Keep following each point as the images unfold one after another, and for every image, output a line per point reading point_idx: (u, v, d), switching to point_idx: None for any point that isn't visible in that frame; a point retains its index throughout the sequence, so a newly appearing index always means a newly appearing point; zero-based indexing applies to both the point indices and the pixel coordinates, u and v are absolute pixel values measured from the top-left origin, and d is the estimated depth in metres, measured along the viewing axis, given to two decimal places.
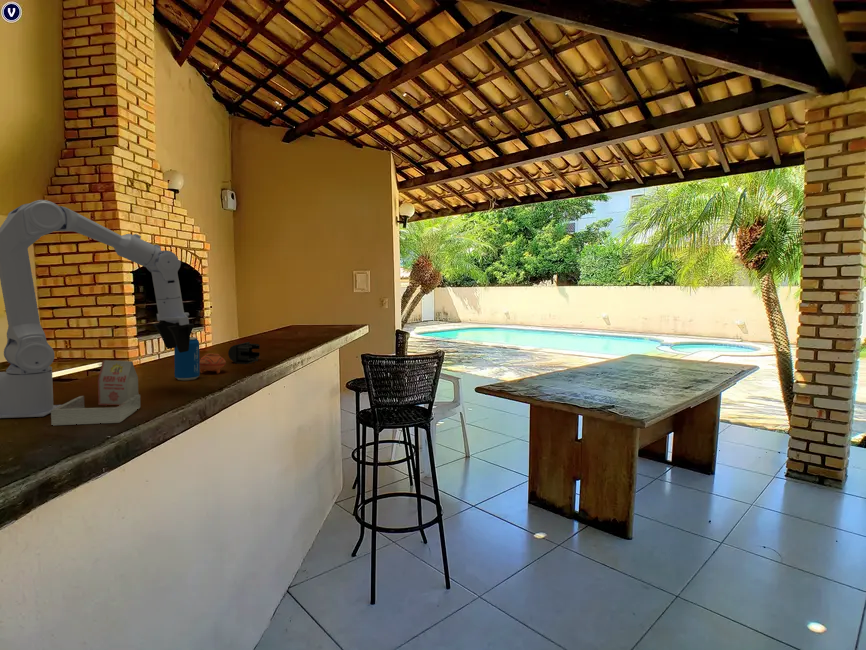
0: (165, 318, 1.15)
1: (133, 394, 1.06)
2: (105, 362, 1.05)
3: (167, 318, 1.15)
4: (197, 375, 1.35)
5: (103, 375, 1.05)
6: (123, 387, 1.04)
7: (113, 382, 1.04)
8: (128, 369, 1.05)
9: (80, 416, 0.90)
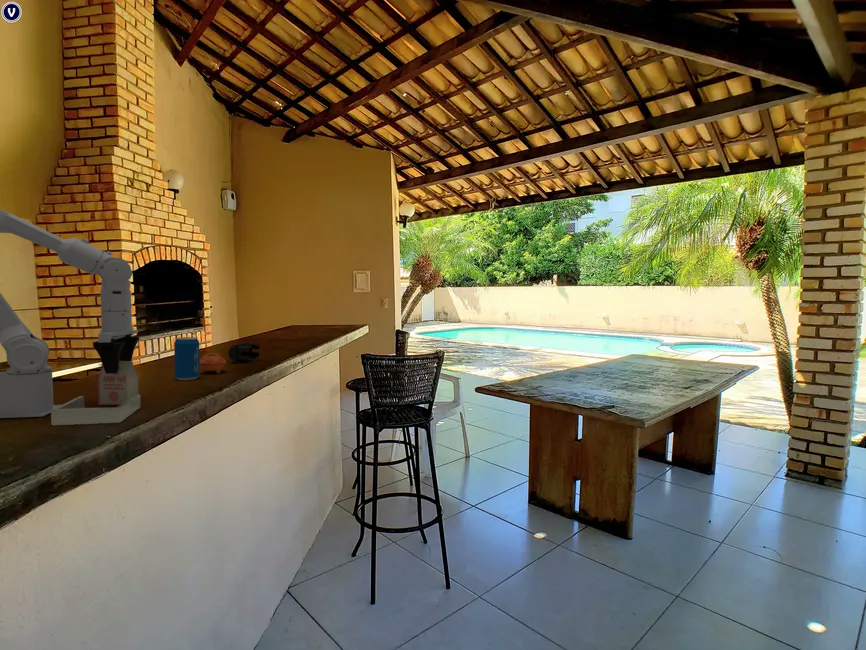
0: (100, 332, 1.02)
1: (133, 394, 1.06)
2: None
3: (100, 332, 1.02)
4: (197, 375, 1.35)
5: (103, 375, 1.05)
6: (123, 387, 1.04)
7: (113, 382, 1.04)
8: (128, 369, 1.05)
9: (80, 416, 0.90)
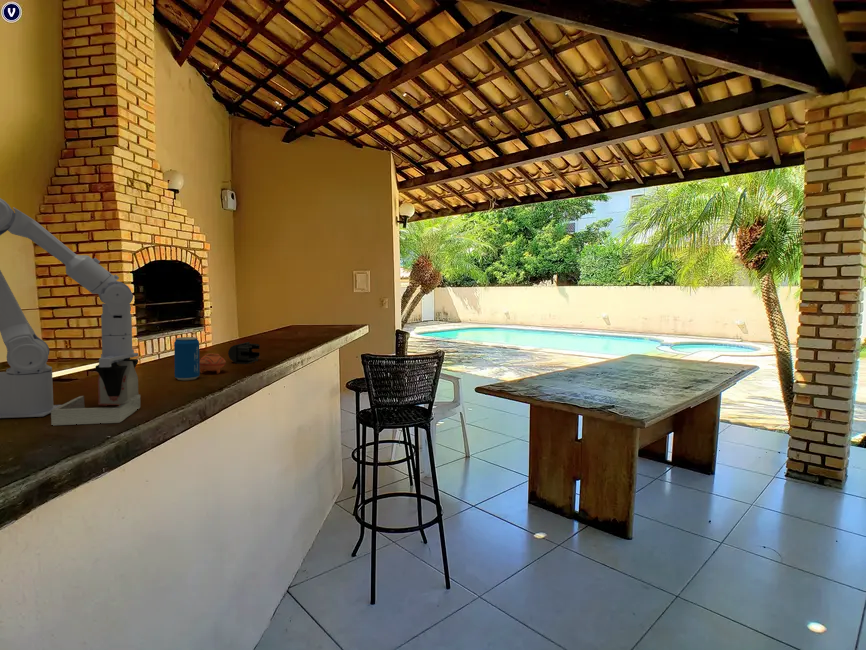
0: (101, 356, 1.03)
1: (133, 394, 1.06)
2: None
3: (101, 356, 1.02)
4: (197, 375, 1.35)
5: None
6: (123, 387, 1.04)
7: None
8: (128, 369, 1.05)
9: (80, 416, 0.90)
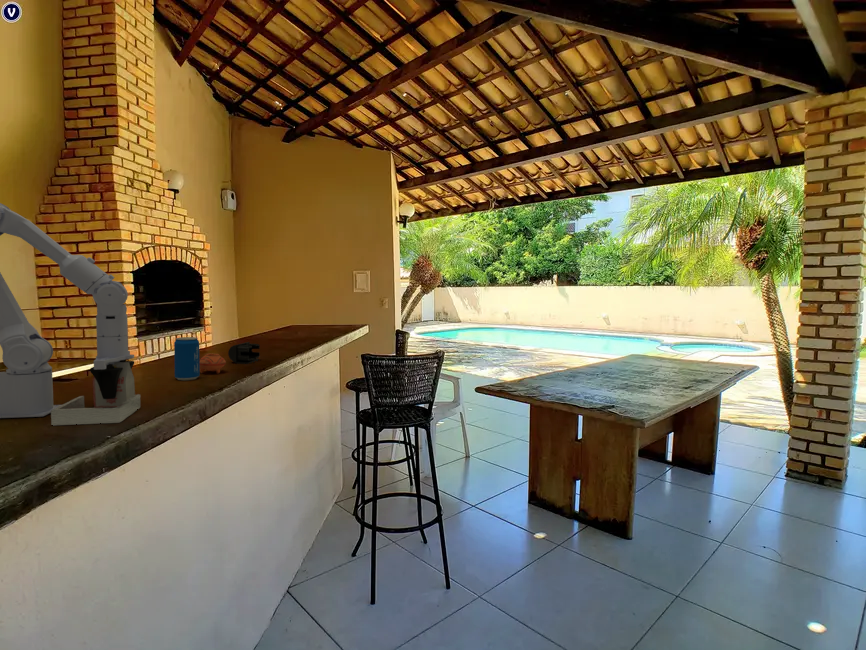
0: (96, 358, 1.00)
1: (131, 395, 1.05)
2: None
3: (96, 358, 1.00)
4: (197, 375, 1.35)
5: None
6: (121, 388, 1.02)
7: None
8: (125, 370, 1.03)
9: (80, 416, 0.90)
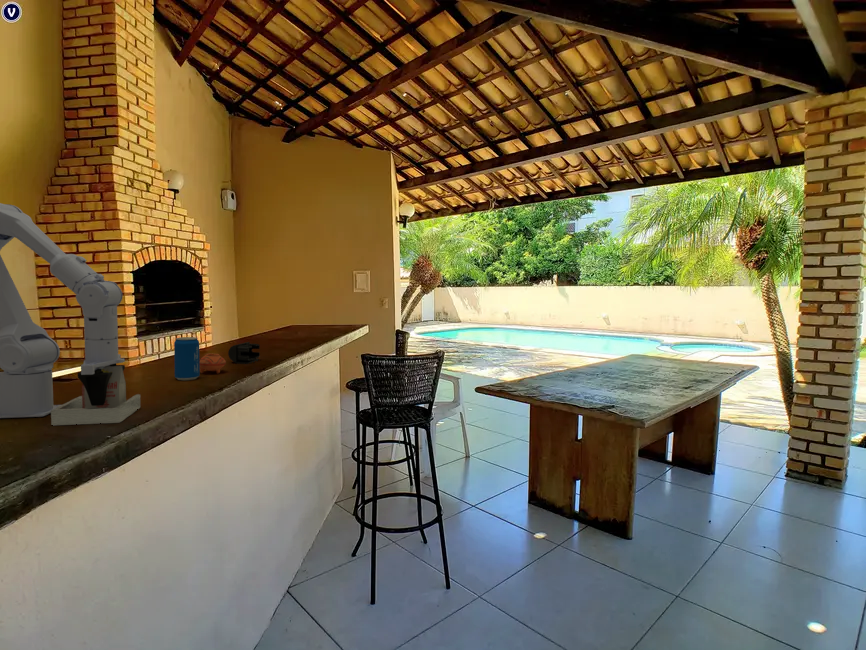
0: None
1: (123, 401, 1.00)
2: None
3: None
4: (197, 375, 1.35)
5: None
6: (114, 394, 0.98)
7: None
8: (118, 374, 0.98)
9: (80, 416, 0.90)
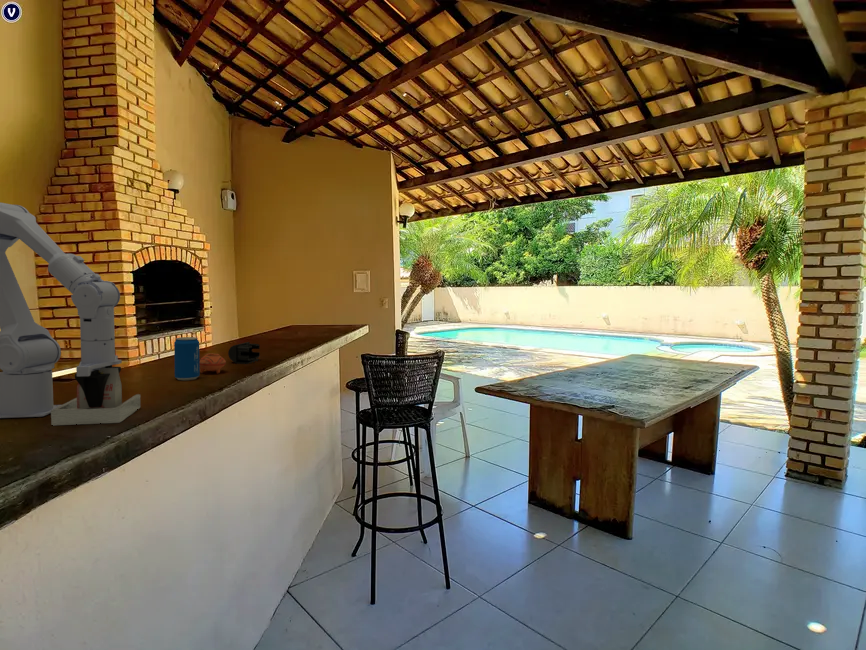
0: None
1: (118, 403, 0.98)
2: None
3: (79, 364, 0.93)
4: (197, 375, 1.35)
5: None
6: (109, 396, 0.95)
7: None
8: (114, 376, 0.96)
9: (80, 416, 0.90)
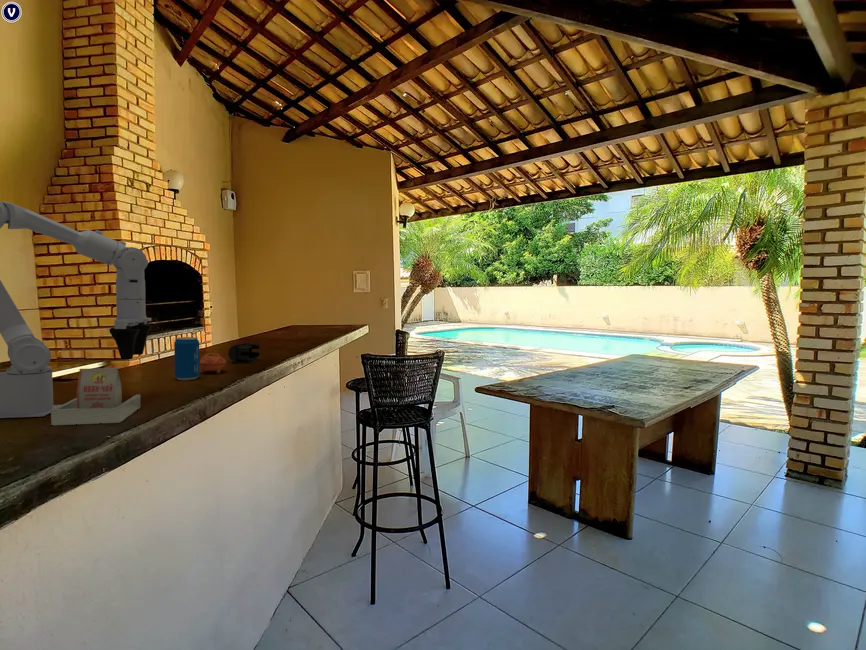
0: None
1: (118, 404, 0.98)
2: (83, 371, 0.95)
3: None
4: (197, 375, 1.35)
5: (83, 385, 0.94)
6: (109, 396, 0.95)
7: (97, 392, 0.95)
8: (114, 377, 0.96)
9: (80, 416, 0.90)
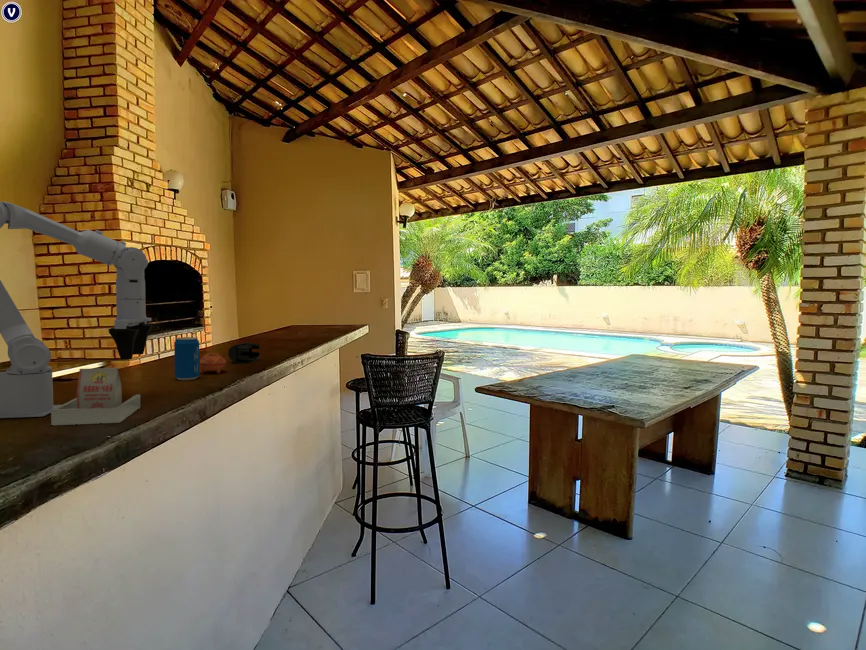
0: None
1: (118, 404, 0.98)
2: (83, 371, 0.95)
3: None
4: (197, 375, 1.35)
5: (83, 385, 0.94)
6: (109, 396, 0.95)
7: (97, 392, 0.95)
8: (114, 377, 0.96)
9: (80, 416, 0.90)
